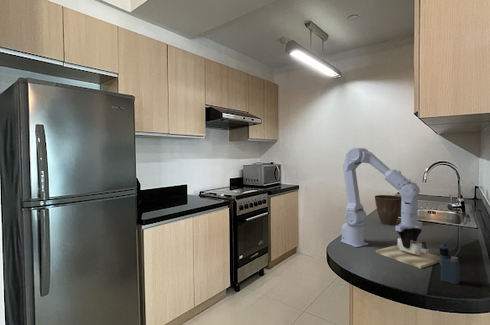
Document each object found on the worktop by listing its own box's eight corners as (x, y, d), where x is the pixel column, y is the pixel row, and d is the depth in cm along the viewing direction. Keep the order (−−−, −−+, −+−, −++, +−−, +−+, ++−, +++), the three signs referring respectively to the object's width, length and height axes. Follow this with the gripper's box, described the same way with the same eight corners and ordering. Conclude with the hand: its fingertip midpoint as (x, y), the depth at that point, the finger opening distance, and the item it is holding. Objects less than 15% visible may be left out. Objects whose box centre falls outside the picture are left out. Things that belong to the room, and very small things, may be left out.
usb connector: (395, 248, 111) (395, 238, 111) (400, 246, 113) (400, 237, 113) (424, 257, 101) (424, 246, 101) (429, 255, 103) (429, 245, 103)
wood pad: (375, 252, 113) (375, 250, 113) (399, 246, 120) (399, 244, 120) (420, 268, 97) (420, 265, 97) (444, 260, 104) (444, 257, 104)
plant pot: (403, 222, 162) (403, 196, 162) (402, 228, 150) (402, 199, 149) (376, 219, 170) (376, 194, 170) (373, 224, 158) (373, 197, 157)
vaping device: (439, 277, 89) (439, 241, 89) (459, 282, 86) (460, 245, 86) (438, 280, 87) (439, 243, 87) (459, 285, 84) (460, 247, 84)
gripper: (408, 217, 101) (408, 253, 101) (430, 213, 108) (430, 246, 108) (390, 213, 107) (390, 247, 108) (412, 209, 114) (412, 241, 114)
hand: (409, 246), depth 108 cm, fingers closed on usb connector, 3 cm apart
